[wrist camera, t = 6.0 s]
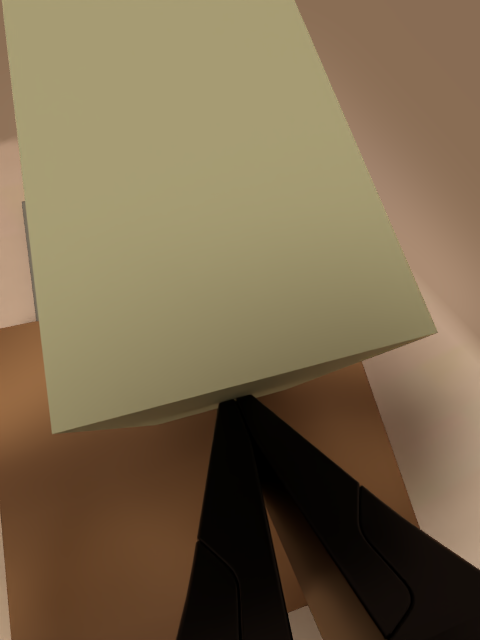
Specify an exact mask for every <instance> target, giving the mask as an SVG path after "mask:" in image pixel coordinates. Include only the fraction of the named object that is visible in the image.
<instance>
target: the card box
mask: <svg viewBox="0 0 480 640" xmlns="http://www.w3.org/2000/svg"><path fill="white" fill-rule="evenodd" d="M2 7H3V15H4V24H5V33H6V40H7V50H8V58H9V67H10V75H11V84H12V93H13V101H14V110H15V118H16V127H17V136H18V145H19V153H20V162H21V171H22V179H23V188H24V196H25V205H26V214H27V222H28V231H29V240H30V248H31V257H32V265H33V274H34V283H35V291H36V300H37V309H38V317H39V326H40V334H41V343H42V352H43V360H44V369H45V377H46V386H47V395H48V403H49V412H50V421H51V429H52V434H60V433H71V432H82V431H94V430H105V429H117V428H128V427H139V426H151V425H158V424H162V423H166V422H169V421H173V420H177V419H180V418H184V417H188V416H191V415H195V414H199V413H202V412H206V411H210V410H213V409H217V408H218V404H219V403H221V402H224V401H228V400H232V399H234V400H236V398H239V397H243V396H246V395H250V394H251V395H253V396H254V397H255V398H257V397H261V396H265V395H268V394H272V393H276V392H279V391H283V390H286V389H289V388H291V387H294V386H297V385H299V384H302V383H305V382H307V381H310V380H313V379H315V378H318V377H321V376H323V375H326V374H329V373H331V372H334V371H337V370H339V369H342V368H345V367H347V366H350V365H353V364H355V363H358V362H361V361H363V360H366V359H369V358H371V357H374V356H377V355H379V354H382V353H385V352H387V351H390V350H393V349H395V348H398V347H401V346H403V345H406V344H409V343H411V342H414V341H417V340H419V339H422V338H425V337H427V336H430V335H433V334H435V333H438V332H437V330H436V327H435V325H434V323H433V320H432V318H431V316H430V313H429V311H428V309H427V306H426V304H425V302H424V299H423V297H422V295H421V292H420V290H419V288H418V285H417V283H416V281H415V279H414V276H413V274H412V272H411V269H410V267H409V265H408V262H407V260H406V258H405V256H404V253H403V251H402V249H401V246H400V244H399V242H398V239H397V237H396V235H395V232H394V230H393V228H392V225H391V223H390V221H389V218H388V216H387V214H386V211H385V209H384V207H383V204H382V202H381V200H380V197H379V195H378V193H377V190H376V188H375V186H374V184H373V181H372V179H371V177H370V174H369V172H368V170H367V167H366V165H365V163H364V160H363V158H362V156H361V154H360V151H359V149H358V146H357V144H356V142H355V140H354V137H353V135H352V133H351V130H350V128H349V126H348V123H347V121H346V119H345V116H344V114H343V112H342V110H341V107H340V105H339V102H338V100H337V98H336V95H335V93H334V91H333V89H332V86H331V84H330V82H329V79H328V77H327V75H326V72H325V70H324V68H323V65H322V63H321V61H320V59H319V56H318V54H317V51H316V49H315V47H314V45H313V42H312V40H311V38H310V36H309V33H308V31H307V28H306V26H305V24H304V21H303V19H302V17H301V14H300V12H299V10H298V7H297V5H296V3H295V0H2Z"/></svg>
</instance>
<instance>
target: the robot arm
mask: <svg viewBox="0 0 480 640" xmlns="http://www.w3.org/2000/svg"><path fill="white" fill-rule="evenodd" d="M265 506H266V507H265ZM266 508H267V511H268V513H269V515H270V518H271V520H272V522H273V525H274V527H275V529H276V531H277V534H278V536H279V538H280V541H281V543H282V545H283V548H284V550H285V552H286V555H287V557H288V559H289V562H290V564H291V566H292V569H293V571H294V573H295V576H296V578H297V580H298V583H299V585H300V587H301V590H302V592H303V594H304V597H305V599H306V601H307V603H308V606H309V608H310V610H311V613H312V615H313V617H314V620H315V622H316V624H317V627H318V629H319V631H320V634H321V636H322V638H323V640H480V570H479V569H478V568H476V567H475V566H473V565H472V564H470V563H469V562H467V561H466V560H464V559H463V558H461V557H460V556H458V555H457V554H455V553H454V552H452V551H451V550H450V549H448V548H447V547H445V546H444V545H442V544H441V543H439V542H438V541H436V540H435V539H433V538H432V537H430V536H429V535H428V534H426V533H425V532H423V531H422V530H420V529H419V528H418V527H416V526H415V525H413V524H412V523H410V522H409V521H408V520H406V519H405V518H403V517H402V516H401V515H399V514H398V513H397V512H396V511H394V510H393V509H392V508H390V507H389V506H388V505H387V504H385V503H384V502H383V501H381V500H380V499H379V498H378V497H376V496H375V495H374V494H373V493H372V492H370V491H369V490H368V489H367V488H366V487H364V486H363V485H361V486H360V483H359V482H358V481H357V480H356V479H354V478H353V477H352V476H351V475H349V474H348V473H347V472H346V471H345V470H343V469H342V468H341V467H340V466H338V465H337V464H336V463H335V462H334V461H332V460H331V459H330V458H329V457H327V456H326V455H325V454H324V453H323V452H321V451H320V450H319V449H318V448H316V447H315V446H314V445H313V444H312V443H310V442H309V441H308V440H307V439H305V438H304V437H303V436H302V435H301V434H299V433H298V432H297V431H296V430H295V429H293V428H292V427H291V426H290V425H288V424H287V423H286V422H285V421H284V420H282V419H281V418H280V417H279V416H277V415H276V414H275V413H274V412H273V411H271V410H270V409H269V408H268V407H266V406H265V405H264V404H263V403H262V402H260V401H259V400H258V399H257V398H255V397H254V396H253V395H251V394H250V395H246V396H243V397H239V398H236V400H234V399H232V400H228V401H224V402H221V403H219V404H218V410H217V416H216V422H215V428H214V434H213V441H212V447H211V453H210V459H209V466H208V472H207V478H206V484H205V490H204V497H203V503H202V509H201V515H200V521H199V528H198V534H197V542H196V545H195V551H194V557H193V563H192V569H191V574H190V579H189V584H188V589H187V595H186V599H185V603H184V607H183V612H182V616H181V620H180V624H179V628H178V632H177V636H176V640H293V637H292V632H291V627H290V622H289V618H288V613H287V608H286V603H285V598H284V594H283V589H282V584H281V579H280V574H279V570H278V565H277V560H276V555H275V550H274V546H273V541H272V536H271V531H270V526H269V522H268V517H267V512H266Z"/></svg>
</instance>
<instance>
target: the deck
mask: <svg viewBox="0 0 480 640" xmlns="http://www.w3.org/2000/svg"><path fill="white" fill-rule="evenodd" d="M257 399H258V400H259V401H260V402H262V403H263V404H264V405H265V406H266V407H268V408H269V409H270V410H271V411H273V412H274V413H275V414H276V415H277V416H279V417H280V418H281V419H282V420H284V421H285V422H286V423H287V424H288V425H290V426H291V427H292V428H293V429H295V430H296V431H297V432H298V433H299V434H301V435H302V436H303V437H304V438H305V439H307V440H308V441H309V442H310V443H312V444H313V445H314V446H315V447H316V448H318V449H319V450H320V451H321V452H323V453H324V454H325V455H326V456H327V457H329V458H330V459H331V460H332V461H334V462H335V463H336V464H337V465H338V466H340V467H341V468H342V469H343V470H345V471H346V472H347V473H348V474H349V475H351V476H352V477H353V478H354V479H356V480H357V481H358V482H359V483H360V486H361V485H363V486H364V487H366V488H367V489H368V490H369V491H370V492H372V493H373V494H374V495H375V496H376V497H378V498H379V499H380V500H381V501H383V502H384V503H385V504H387V505H388V506H389V507H390V508H392V509H393V510H394V511H396V512H397V513H398V514H399V515H401V516H402V517H403V518H405V519H406V520H408V521H409V522H410V523H412V524H413V525H415V526H416V527H418V528H419V529H420V527H419V525H418V522H417V519H416V516H415V513H414V510H413V507H412V505H411V502H410V499H409V496H408V493H407V490H406V487H405V484H404V482H403V479H402V476H401V473H400V470H399V467H398V464H397V462H396V459H395V456H394V453H393V450H392V447H391V444H390V442H389V439H388V436H387V433H386V430H385V427H384V424H383V422H382V419H381V416H380V413H379V410H378V407H377V404H376V401H375V399H374V396H373V393H372V390H371V387H370V384H369V381H368V379H367V376H366V373H365V370H364V367H363V364H362V361H361V362H358V363H355V364H353V365H350V366H347V367H345V368H342V369H339V370H337V371H334V372H331V373H329V374H326V375H323V376H321V377H318V378H315V379H313V380H310V381H307V382H305V383H302V384H299V385H297V386H294V387H291V388H289V389H286V390H283V391H279V392H276V393H272V394H268V395H265V396H261V397H257ZM217 410H218V408H217V409H213V410H210V411H206V412H202V413H199V414H195V415H191V416H188V417H184V418H180V419H177V420H173V421H169V422H166V423H162V424H158V425H151V426H139V427H128V428H117V429H105V430H94V431H82V432H71V433H60V434H52V429H51V421H50V412H49V403H48V395H47V386H46V377H45V369H44V360H43V352H42V343H41V334H40V326H39V321H35V322H30V323H26V324H21V325H16V326H11V327H6V328H1V329H0V512H1V523H2V535H3V547H4V558H5V570H6V582H7V594H8V605H9V617H10V629H11V640H176V636H177V632H178V628H179V624H180V620H181V616H182V612H183V607H184V603H185V599H186V595H187V589H188V584H189V579H190V574H191V569H192V563H193V557H194V551H195V545H196V542H197V534H198V528H199V521H200V515H201V509H202V503H203V497H204V490H205V484H206V478H207V472H208V466H209V459H210V453H211V447H212V441H213V434H214V428H215V422H216V416H217ZM265 507H266V506H265ZM266 512H267V517H268V522H269V526H270V531H271V536H272V541H273V546H274V550H275V555H276V560H277V565H278V570H279V574H280V579H281V584H282V589H283V594H284V598H285V603H286V608H287V613H289V612H291V611H294V610H296V609H299V608H301V607H304V606H306V605H308V603H307V601H306V599H305V597H304V594H303V592H302V590H301V587H300V585H299V583H298V580H297V578H296V576H295V573H294V571H293V569H292V566H291V564H290V562H289V559H288V557H287V555H286V552H285V550H284V548H283V545H282V543H281V541H280V538H279V536H278V534H277V531H276V529H275V527H274V525H273V522H272V520H271V518H270V515H269V513H268V511H267V508H266Z"/></svg>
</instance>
